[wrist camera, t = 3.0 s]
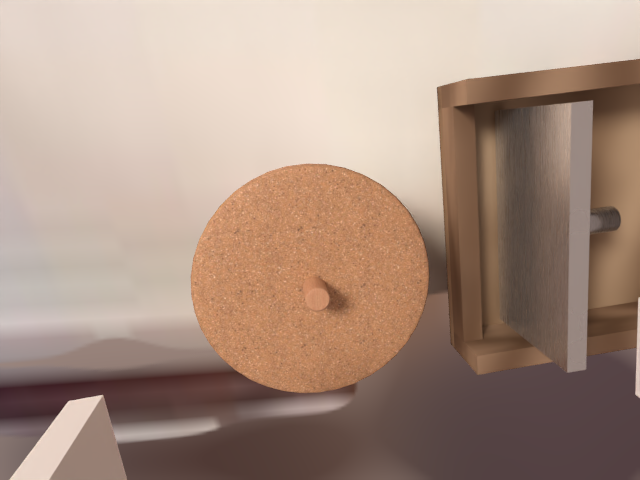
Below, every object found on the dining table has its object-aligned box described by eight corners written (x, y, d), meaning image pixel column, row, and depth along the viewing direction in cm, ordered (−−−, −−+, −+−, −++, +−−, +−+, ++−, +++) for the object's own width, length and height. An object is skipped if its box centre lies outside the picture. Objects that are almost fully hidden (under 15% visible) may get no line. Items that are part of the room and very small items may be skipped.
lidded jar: (386, 151, 27) (447, 160, 18) (388, 319, 29) (442, 402, 20) (202, 160, 26) (167, 175, 17) (220, 334, 28) (198, 428, 19)
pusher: (499, 318, 29) (567, 372, 23) (494, 110, 26) (571, 103, 20) (572, 307, 30) (660, 356, 23) (576, 100, 26) (678, 89, 20)
